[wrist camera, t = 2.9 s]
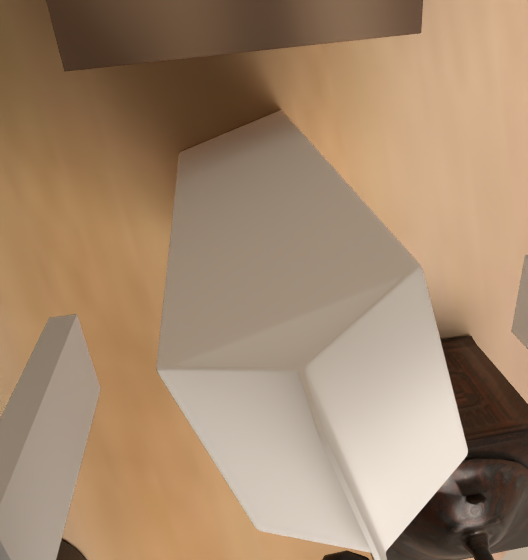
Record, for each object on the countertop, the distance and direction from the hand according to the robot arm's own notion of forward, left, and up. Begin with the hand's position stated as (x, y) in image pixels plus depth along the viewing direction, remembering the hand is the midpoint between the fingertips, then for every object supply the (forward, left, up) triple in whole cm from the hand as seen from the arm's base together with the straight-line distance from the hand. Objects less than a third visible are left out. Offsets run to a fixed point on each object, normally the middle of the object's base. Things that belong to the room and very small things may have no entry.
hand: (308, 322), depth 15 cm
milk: (0, 0, -15) cm, 15 cm away
